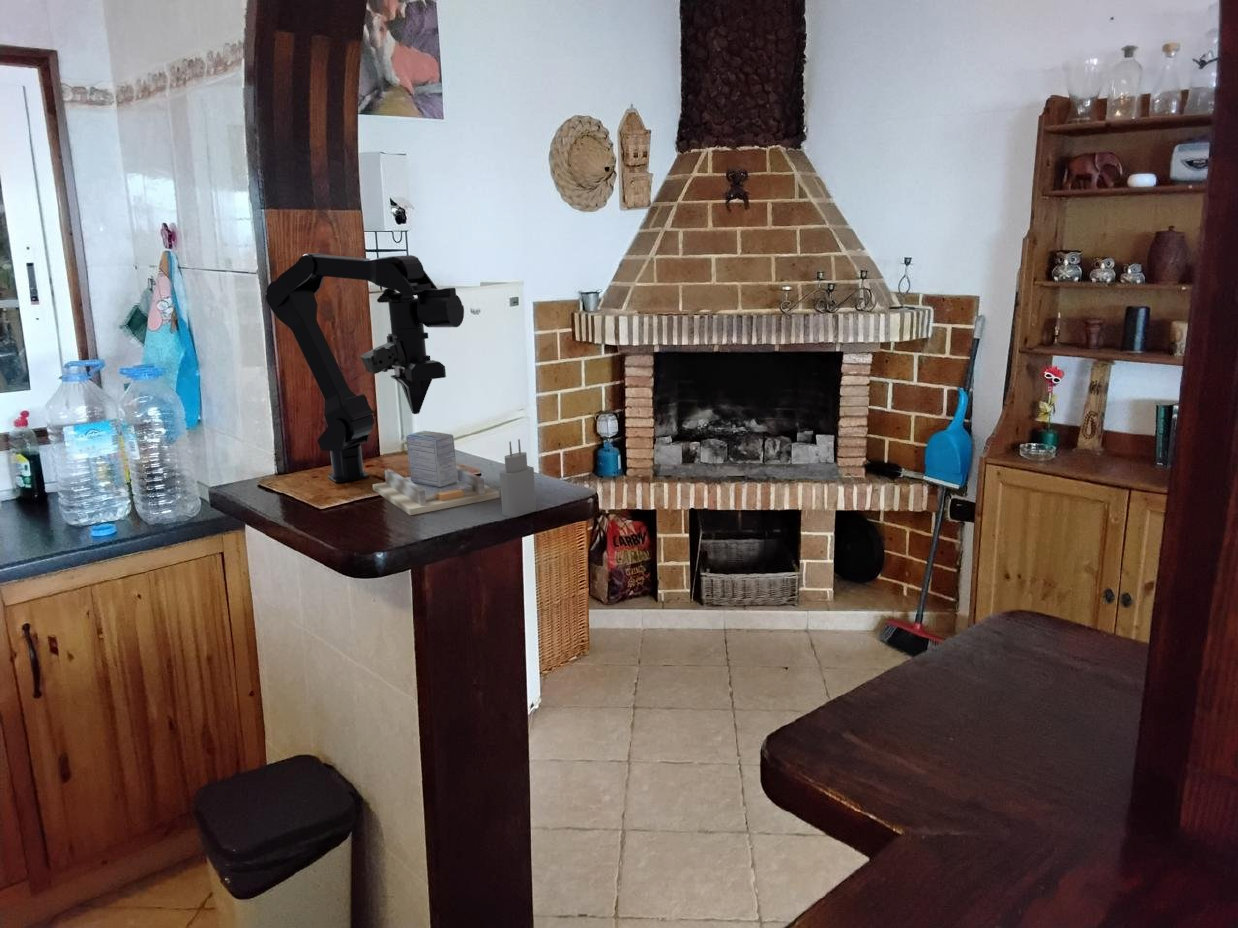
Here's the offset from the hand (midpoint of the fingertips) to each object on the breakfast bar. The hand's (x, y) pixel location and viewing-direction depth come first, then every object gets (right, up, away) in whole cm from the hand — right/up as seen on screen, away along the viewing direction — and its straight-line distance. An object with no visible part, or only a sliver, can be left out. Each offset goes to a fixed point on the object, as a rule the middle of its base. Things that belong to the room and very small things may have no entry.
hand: (415, 413), depth 168 cm
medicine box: (+4, -13, -5) cm, 14 cm away
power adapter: (+21, -17, -18) cm, 32 cm away
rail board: (+4, -14, -5) cm, 16 cm away
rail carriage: (+5, -14, -6) cm, 16 cm away
